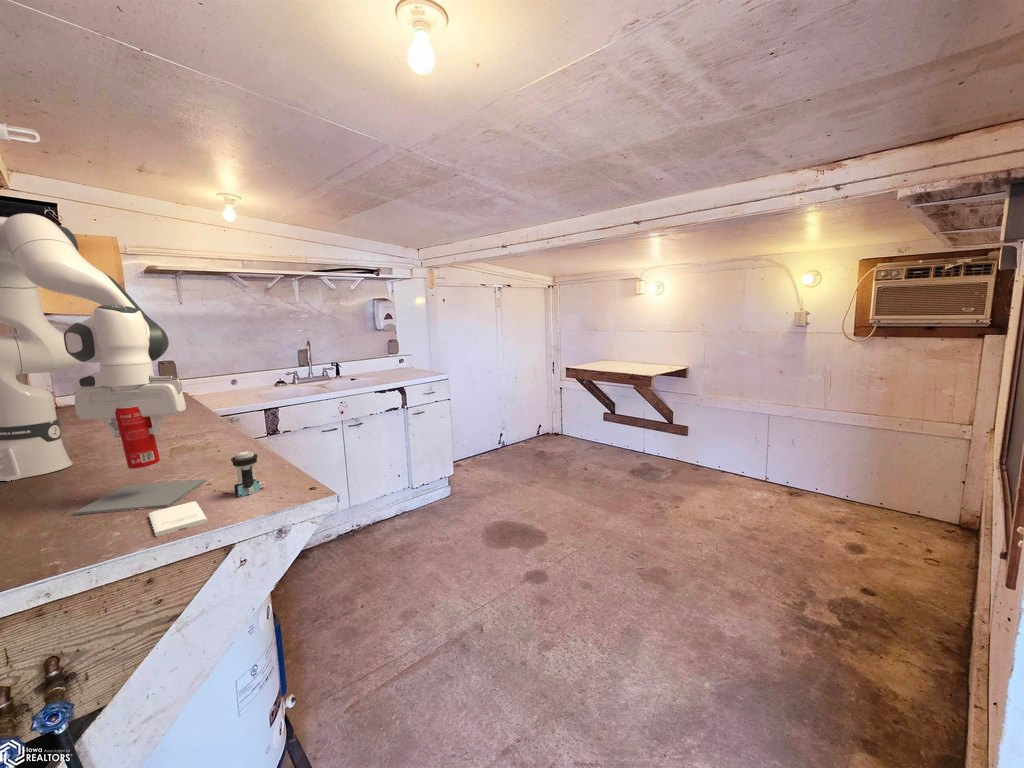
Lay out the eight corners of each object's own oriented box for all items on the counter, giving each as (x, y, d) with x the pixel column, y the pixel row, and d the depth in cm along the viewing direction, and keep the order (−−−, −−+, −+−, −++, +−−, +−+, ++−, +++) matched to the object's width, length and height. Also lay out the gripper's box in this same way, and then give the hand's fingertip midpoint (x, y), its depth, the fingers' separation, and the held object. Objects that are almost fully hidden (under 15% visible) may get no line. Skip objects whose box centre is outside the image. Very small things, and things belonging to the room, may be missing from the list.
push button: (259, 485, 104) (255, 447, 103) (271, 489, 101) (267, 450, 100) (230, 495, 99) (226, 454, 97) (242, 499, 96) (237, 457, 94)
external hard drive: (197, 507, 93) (208, 524, 85) (149, 519, 87) (155, 539, 79) (196, 500, 93) (207, 517, 84) (148, 512, 87) (154, 531, 79)
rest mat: (73, 515, 89) (72, 512, 89) (126, 487, 104) (126, 485, 104) (168, 507, 92) (167, 504, 92) (205, 481, 108) (205, 479, 108)
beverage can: (166, 462, 100) (158, 401, 98) (140, 471, 94) (130, 406, 92) (144, 462, 101) (135, 401, 99) (116, 471, 94) (106, 406, 92)
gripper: (187, 373, 100) (194, 429, 101) (88, 377, 96) (97, 435, 97) (171, 376, 93) (179, 436, 95) (64, 380, 90) (74, 442, 91)
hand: (137, 435), depth 96 cm, fingers closed on beverage can, 6 cm apart
